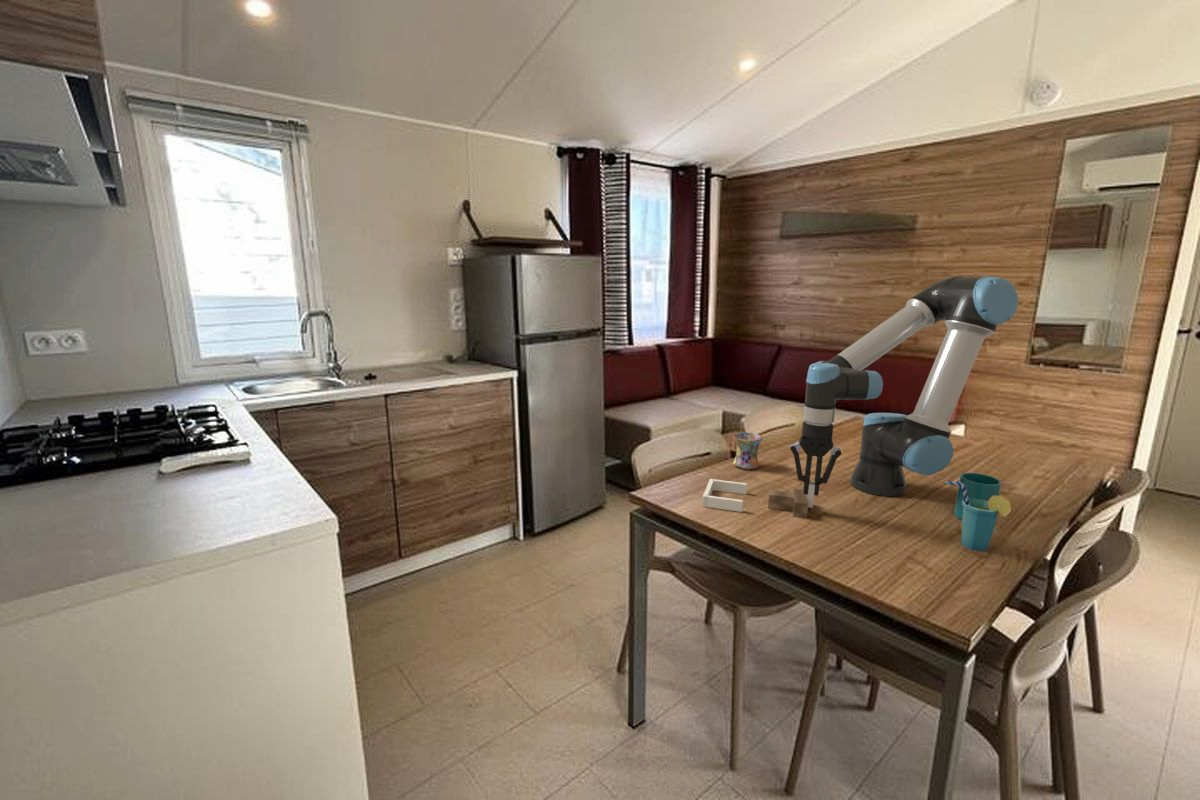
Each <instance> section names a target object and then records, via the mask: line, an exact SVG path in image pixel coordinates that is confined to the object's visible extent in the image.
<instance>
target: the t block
mask: <svg viewBox="0 0 1200 800" xmlns="http://www.w3.org/2000/svg"><path fill="white" fill-rule="evenodd" d="M768 494H769V495H768V504H767V509H771V510H772V509H773V510H779V511H787V512H792V517H794V518H795V517H796V518H803V519H807V518H808V509H809V507H808V496H807V494H804V489H798V488H793V492H788V491H780V490H775V489H774V490H772V489H769V492H768Z"/></svg>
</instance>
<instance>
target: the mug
mask: <svg viewBox="0 0 1200 800" xmlns="http://www.w3.org/2000/svg"><path fill="white" fill-rule="evenodd" d="M733 439H734V442H735V445H736V447H735V448H736V453H735V458H734V460H733V462H732V464H733V466H735V467H737V468H740V469H743V470H754V469H758V468H759V466H760V463H759V460H758V450H759V446H760V444H761V442H762V440H763V436H762V435H761V434H757V433H754V432H753V433H752V432H736V433H734V434H733Z"/></svg>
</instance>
